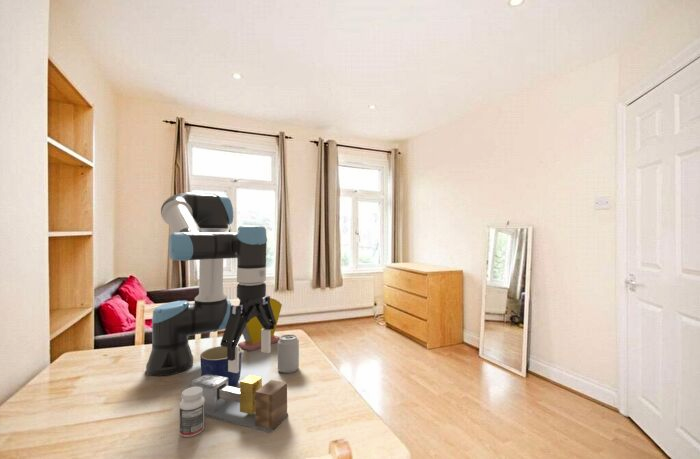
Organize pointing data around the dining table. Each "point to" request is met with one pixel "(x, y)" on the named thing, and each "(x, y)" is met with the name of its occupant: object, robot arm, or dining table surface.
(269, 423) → the socket
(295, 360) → the can
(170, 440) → the dining table surface
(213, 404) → the sleeve
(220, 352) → the planter
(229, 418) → the board
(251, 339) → the yellow fan-shaped sign
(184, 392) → the pill bottle
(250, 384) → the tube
